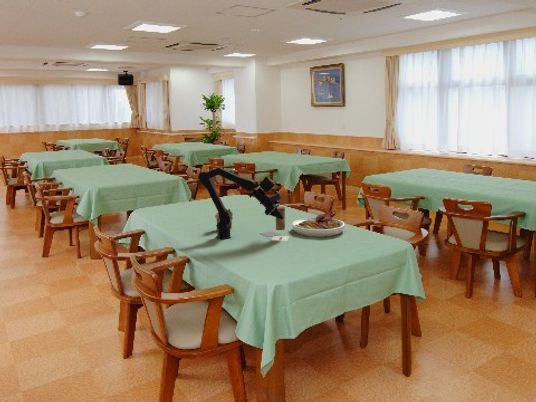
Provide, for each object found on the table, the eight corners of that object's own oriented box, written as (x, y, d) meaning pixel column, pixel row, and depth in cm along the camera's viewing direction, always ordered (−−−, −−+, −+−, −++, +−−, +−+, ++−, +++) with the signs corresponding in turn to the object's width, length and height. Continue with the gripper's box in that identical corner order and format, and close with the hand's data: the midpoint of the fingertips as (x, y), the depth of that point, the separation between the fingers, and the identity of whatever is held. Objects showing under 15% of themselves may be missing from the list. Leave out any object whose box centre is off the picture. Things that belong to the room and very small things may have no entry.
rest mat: (267, 237, 272) (267, 236, 272) (259, 234, 280) (259, 233, 280) (281, 235, 277) (281, 234, 277) (272, 231, 284) (272, 231, 284)
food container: (225, 226, 299) (225, 210, 297) (233, 228, 295) (232, 211, 293) (211, 230, 290) (210, 214, 288) (218, 232, 286) (218, 215, 284)
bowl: (342, 239, 267) (343, 225, 266) (288, 237, 273) (288, 223, 271) (345, 226, 296) (345, 213, 294) (296, 224, 302) (296, 212, 300)
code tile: (271, 240, 265) (271, 240, 265) (273, 236, 274) (273, 236, 274) (288, 241, 264) (288, 240, 264) (289, 236, 273) (289, 236, 273)
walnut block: (275, 230, 266) (275, 208, 264) (276, 227, 271) (276, 206, 268) (284, 230, 265) (284, 208, 263) (285, 228, 270) (285, 206, 268)
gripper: (270, 190, 255) (291, 211, 256) (275, 184, 273) (294, 204, 274) (255, 204, 258) (277, 225, 258) (261, 198, 276) (281, 217, 276)
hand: (283, 217), depth 267 cm, fingers closed on walnut block, 5 cm apart
